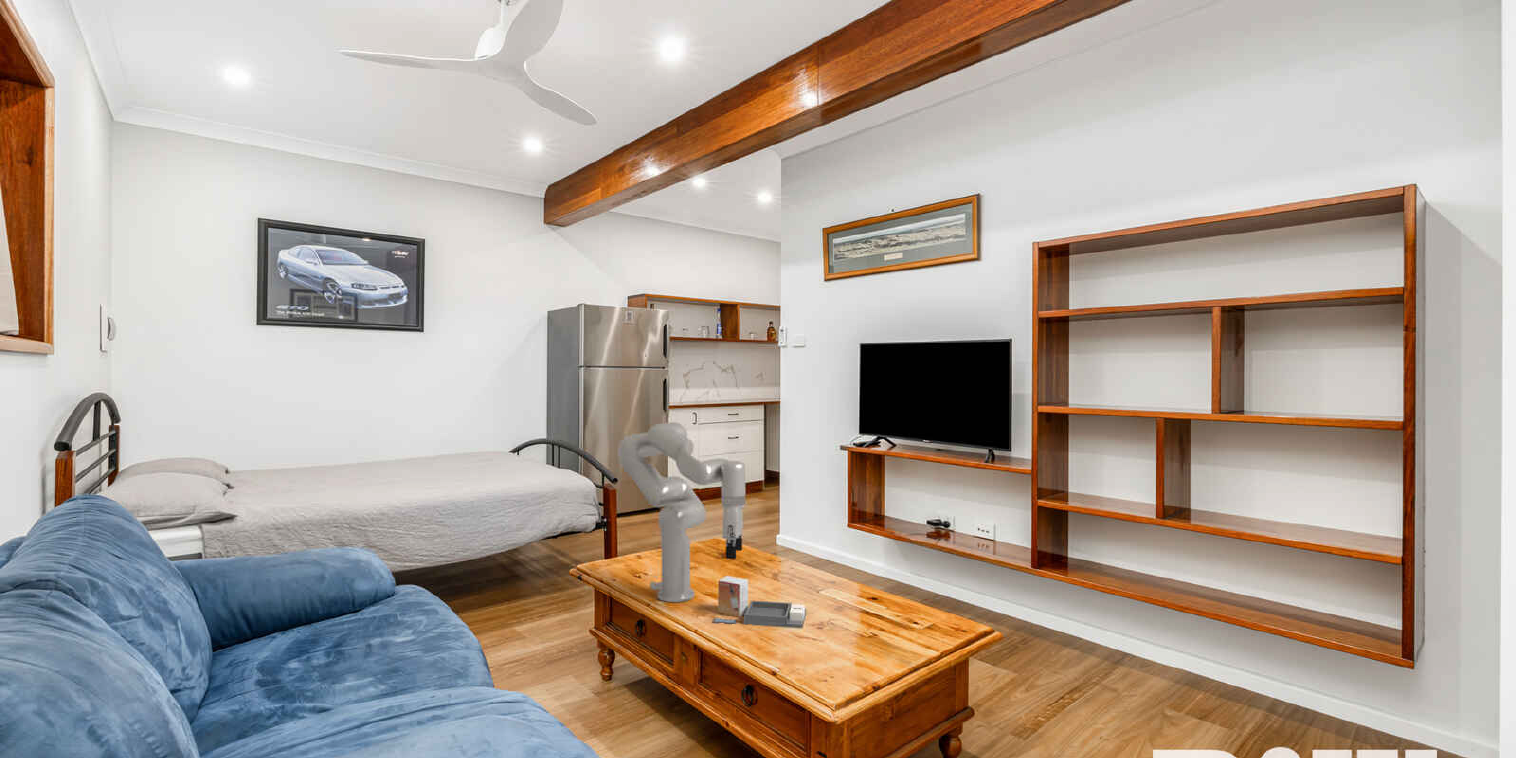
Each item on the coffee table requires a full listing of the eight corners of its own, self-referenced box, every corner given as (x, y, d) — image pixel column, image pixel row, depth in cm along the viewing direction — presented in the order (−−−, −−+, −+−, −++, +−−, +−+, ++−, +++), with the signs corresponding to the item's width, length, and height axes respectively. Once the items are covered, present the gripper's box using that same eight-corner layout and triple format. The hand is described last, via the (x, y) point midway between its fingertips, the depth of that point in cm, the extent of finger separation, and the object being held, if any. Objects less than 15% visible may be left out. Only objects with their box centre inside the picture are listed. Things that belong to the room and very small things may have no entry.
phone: (712, 624, 207) (712, 621, 206) (714, 620, 210) (714, 617, 210) (734, 626, 205) (734, 623, 205) (737, 622, 208) (737, 619, 208)
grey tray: (743, 624, 206) (743, 612, 205) (750, 608, 218) (750, 597, 218) (802, 628, 203) (802, 616, 202) (806, 612, 215) (806, 601, 215)
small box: (717, 613, 215) (717, 580, 214) (726, 607, 220) (726, 575, 219) (739, 617, 211) (739, 584, 211) (748, 611, 216) (748, 579, 216)
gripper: (727, 495, 223) (728, 546, 224) (715, 506, 206) (716, 562, 207) (749, 495, 222) (750, 547, 222) (740, 506, 205) (740, 562, 205)
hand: (734, 554), depth 214 cm, fingers open, 9 cm apart
